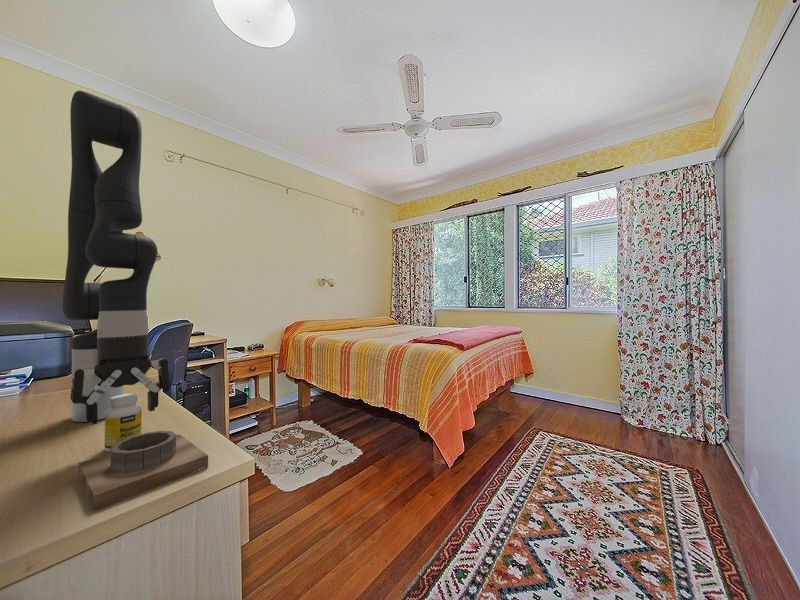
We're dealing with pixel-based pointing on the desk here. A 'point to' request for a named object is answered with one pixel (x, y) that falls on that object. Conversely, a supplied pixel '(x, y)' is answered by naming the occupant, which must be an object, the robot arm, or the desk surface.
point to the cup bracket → (139, 466)
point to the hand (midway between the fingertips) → (123, 416)
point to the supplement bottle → (122, 419)
